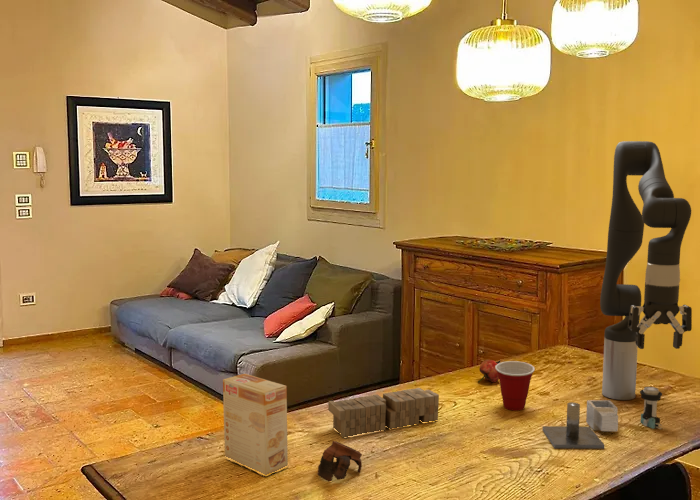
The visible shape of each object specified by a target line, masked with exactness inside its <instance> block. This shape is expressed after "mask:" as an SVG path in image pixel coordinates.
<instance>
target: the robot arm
mask: <svg viewBox="0 0 700 500" xmlns="http://www.w3.org/2000/svg"><path fill="white" fill-rule="evenodd" d="M659 149H660V148H659V147H658V145H657V144H656V143H655V142H654V141H645V140H642V141H641V140H640V141H638V140H634V141H632V140H631V141H630V140H627V141H626V140H625V141H624V140H623V141H620V142H618V143H617V145H616V146H615V148H614V156H613V175H612V176H613V178H612V181H613V182H612V199H611V206H610V207H611V208H610V215H609V216H610V217H609V222H608V232H607V243H606V244H607V246H606V259H605V266H604V274H603V279H602V286H601V292H600V297H599V298H600V302H599V305H600V310H601V313H602V314H603V315H605V316H609V317H624V318H623V319H622V320H620V321H619V322H617V323H615V324H612V325H609V326H606V327H605V329H604V336H603V337H604V341H603V342H604V343H603V344H604V345H603V364H602V382H601V383H602V386H601V387H602V388H601V394H602V396H604V397H605V398H609V399H611V400H618V401H620V400H621V401H628V400H629V401H630V400H633V399H635V398H636V391H637V390H636V388H637V387H636V385H637V366H638V349H639V350H643V349H644V350H645V338H646V337H645V332H646V331H647V329H649V328H650V327H651V326H652V325H653V324H654V325H661V324H662V325H669V324H670V326H671V327H672V329H674V331H673V337H672V338H673V339H672V346H673V348H674V349H678V350H679V349H680V348H681V347H682V345H683V338H684V336H683V334H684V333H686V332H691V331H692V328H693V327H692V326H693V325H692V317H693V315H692V314H693V313H692V312H693V310H692V309H693V308H692V306H689V305H687V304H682V305H678V304H679V298H680V297H679V296H680V282H681V268H680V262H681V261H680V260H681V248H682V247H681V246H682V243H683V239H684V237H685V236H684V235H685V233H686V230H687V229H688V225H689V223H690V220H691V217H692V206H691V204H690V202H689V201H688V200H687V199H686V198H684V197H683V198H682V197H675V195H674V191H673V190H672V188H671V186H670V183H669V182H668V180H667V178H666V174H665V170H664V164H663V161H662V156H661V152H660V150H659ZM628 176H641V177H640V180H639V182H638V185H637V187H638V188H637V189H638V194H639V196H640V198H641V200H642V202H643V206H642V211H640V209H639V208H638V205H637V204H636V203H635V201H634V199H633V196H632V195H631V193H630V191H629V188H628V182H627V181H628V179H627V178H628ZM645 225H646V226H647V227H650V228H653V229H670V230H669V231H668V233H667V234H666V235H662V236H659V237H654V238H651V239H650V240H649V241H648V245H647V257H646V258H647V261H646V269H645V278H644V293H643V294H644V297H643V305H642V292H641V289H640V287H639V286H638V285H636V284H626V283H625V284H619V283H618V280H619V277H620V275H621V273H622V272H623V270H624V268H626V266H627V265H628V263H629V262H630V261H632V259H633V258H634V256H635V255H636V254H637V253H638V251H640V249H641V246H642V244H643V239H644V232H645V231H644V230H645ZM617 283H618V284H617ZM641 313H643V314H644V315H643V317H642V318H641V319H640V316H641ZM679 313H680V315H681V325H680V322H679V321H678V320H677V318H676V316H677V315H678V314H679Z"/></svg>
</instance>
